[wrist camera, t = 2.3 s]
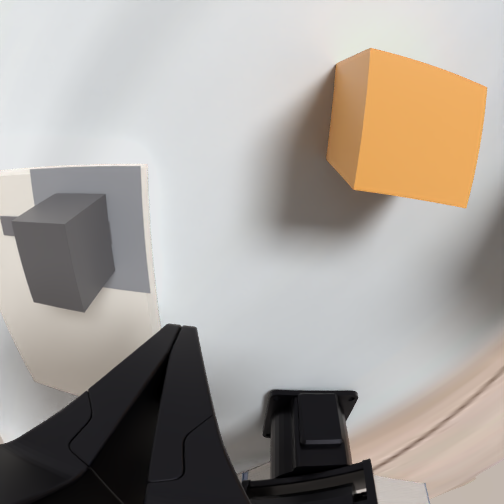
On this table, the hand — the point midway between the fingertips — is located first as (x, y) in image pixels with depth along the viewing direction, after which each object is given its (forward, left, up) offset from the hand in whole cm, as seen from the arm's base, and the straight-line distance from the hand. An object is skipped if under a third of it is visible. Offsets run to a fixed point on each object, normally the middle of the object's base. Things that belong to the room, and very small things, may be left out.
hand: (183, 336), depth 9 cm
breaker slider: (0, +7, -6) cm, 9 cm away
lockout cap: (+6, -7, -8) cm, 12 cm away
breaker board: (-6, +10, -8) cm, 14 cm away
